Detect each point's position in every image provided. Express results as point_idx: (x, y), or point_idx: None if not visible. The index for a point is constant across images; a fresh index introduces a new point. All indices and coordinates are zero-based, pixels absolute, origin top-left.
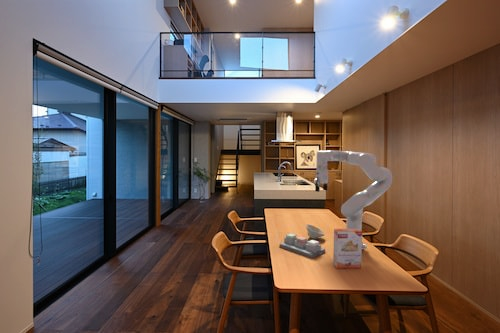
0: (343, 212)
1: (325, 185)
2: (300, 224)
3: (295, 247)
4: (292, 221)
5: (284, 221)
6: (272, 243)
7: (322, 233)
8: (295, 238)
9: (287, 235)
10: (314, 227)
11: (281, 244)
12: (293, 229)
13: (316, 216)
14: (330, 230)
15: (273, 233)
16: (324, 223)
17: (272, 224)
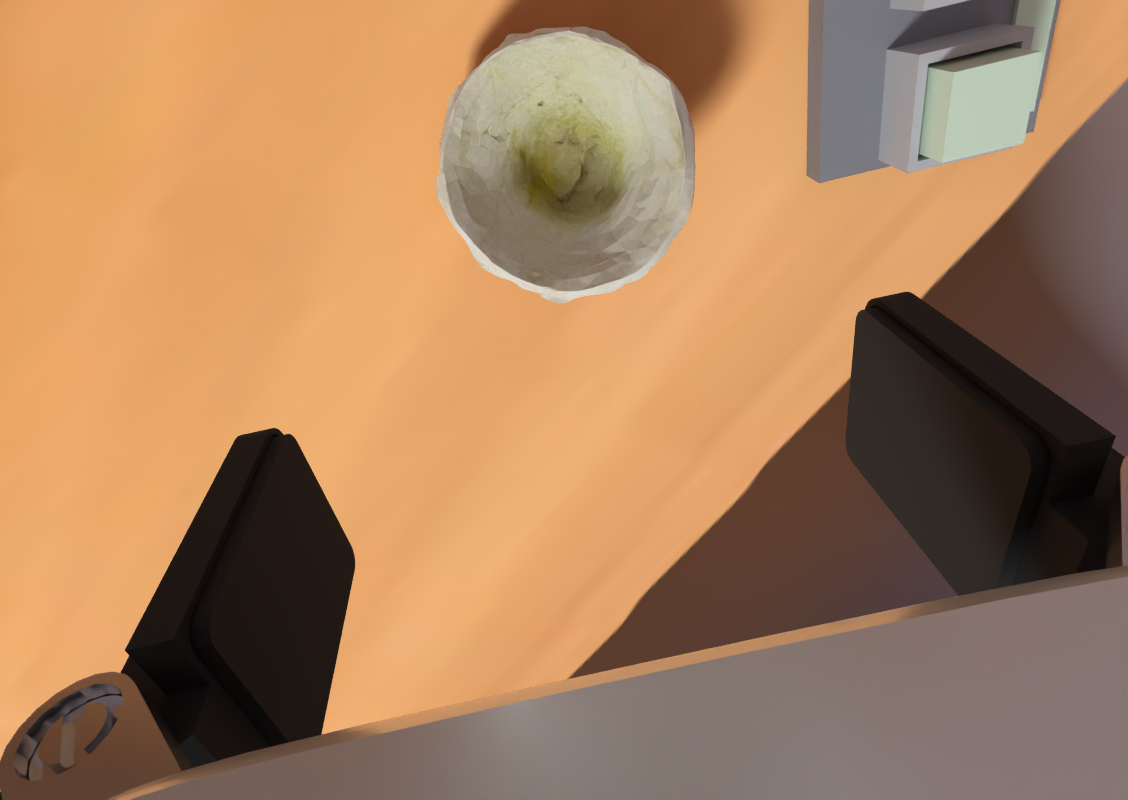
0: None
1: (253, 670)
2: (381, 545)
3: None
4: (395, 625)
5: (461, 642)
6: (979, 232)
7: (469, 116)
8: (957, 56)
9: (1026, 120)
10: (501, 249)
11: (1038, 104)
12: (541, 458)
13: (63, 678)
14: (185, 288)
15: (767, 436)
16: (106, 496)
17: (604, 610)
